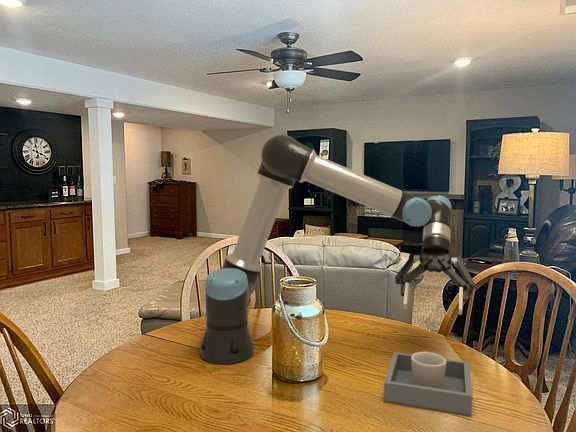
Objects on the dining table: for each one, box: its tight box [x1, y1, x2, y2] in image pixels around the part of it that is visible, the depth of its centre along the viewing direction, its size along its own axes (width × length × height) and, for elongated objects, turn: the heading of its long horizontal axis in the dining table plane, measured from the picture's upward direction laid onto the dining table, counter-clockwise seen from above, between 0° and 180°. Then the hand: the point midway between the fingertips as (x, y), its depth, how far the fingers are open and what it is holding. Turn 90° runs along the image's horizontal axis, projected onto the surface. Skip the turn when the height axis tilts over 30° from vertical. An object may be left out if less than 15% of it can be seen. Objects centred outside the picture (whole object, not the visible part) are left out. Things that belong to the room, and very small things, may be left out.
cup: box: [411, 351, 447, 389], centre depth 109 cm, size 11×8×8 cm
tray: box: [383, 351, 473, 417], centre depth 109 cm, size 18×18×4 cm
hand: (432, 309), depth 117 cm, fingers open, 13 cm apart
